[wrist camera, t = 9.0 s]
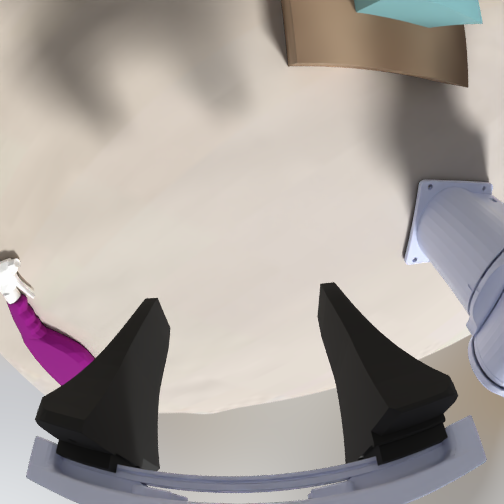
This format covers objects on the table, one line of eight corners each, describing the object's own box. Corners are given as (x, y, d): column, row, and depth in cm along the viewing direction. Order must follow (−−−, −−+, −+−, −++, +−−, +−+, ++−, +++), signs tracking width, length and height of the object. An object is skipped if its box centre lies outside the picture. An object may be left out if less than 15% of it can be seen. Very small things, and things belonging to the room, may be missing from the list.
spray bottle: (73, 381, 36) (-16, 261, 22) (125, 386, 35) (29, 248, 22) (68, 396, 33) (-29, 275, 20) (120, 403, 33) (14, 264, 19)
